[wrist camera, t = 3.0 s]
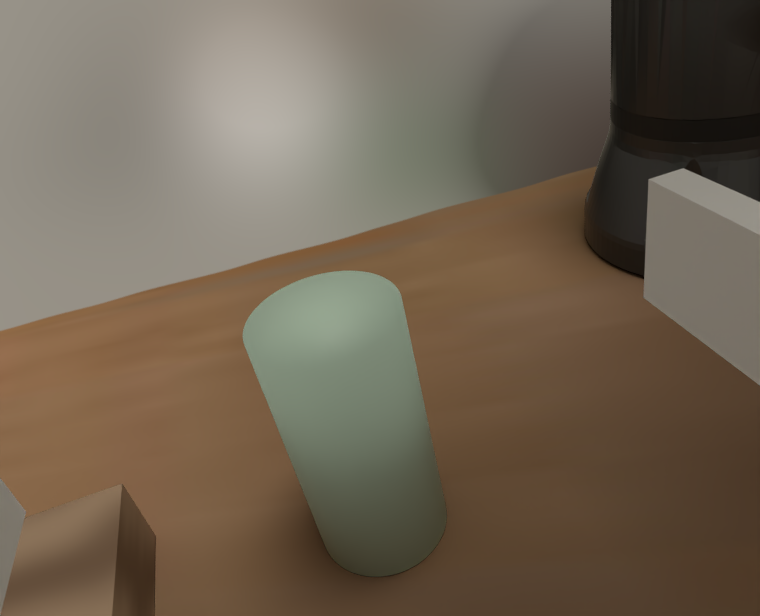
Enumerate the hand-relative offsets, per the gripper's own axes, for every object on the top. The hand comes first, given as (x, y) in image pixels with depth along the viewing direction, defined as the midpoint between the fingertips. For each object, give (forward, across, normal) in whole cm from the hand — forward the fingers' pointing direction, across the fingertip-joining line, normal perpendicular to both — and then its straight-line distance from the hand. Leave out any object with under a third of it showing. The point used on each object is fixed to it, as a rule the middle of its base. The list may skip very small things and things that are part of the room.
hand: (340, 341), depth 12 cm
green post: (+10, 0, -18) cm, 20 cm away
